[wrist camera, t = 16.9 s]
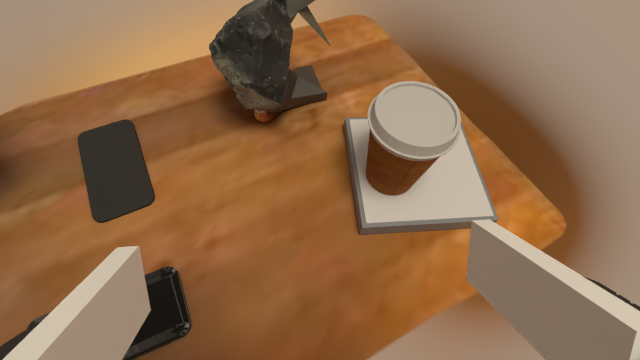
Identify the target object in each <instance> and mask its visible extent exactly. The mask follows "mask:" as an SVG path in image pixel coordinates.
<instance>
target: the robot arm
mask: <svg viewBox="0 0 640 360" xmlns="http://www.w3.org/2000/svg"><path fill="white" fill-rule="evenodd" d="M466 280H467V281H468V282H469V283H470V284H471V285H472V286H473V287H474V288H475V289H476V290H477V291H478V292H479V293H480V294H481V295H482V296H483V297H484V298H485V299H486V300H487V301H488V302H489V303H490V304H491V305H492V306H493V307H494V308H495V309H496V310H497V311H498V312H499V313H500V314H501V315H502V316H503V317H504V318H505V319H506V320H507V321H508V322H509V323H510V324H511V325H512V326H513V327H514V328H515V329H516V330H517V331H518V332H519V333H520V334H521V335H522V336H523V337H524V338H525V339H526V340H527V341H528V342H529V343H530V344H531V345H532V346H533V347H534V348H535V349H536V350H537V351H538V352H539V353H540V354H541V355H542V356H543V357H544V358H545V359H546V360H640V307H639V306H637V305H636V304H631V303H630V301H629V300H627V299H626V298H624V297H622V296H620V295H617V294H616V292H614V291H612V290H611V289H609V288H607V287H606V286H604V285H602V284H600V283H599V282H596V281H594V280H591V279H589V278H586V277H584V276H581V275H580V274H578V273H576V272H575V271H573V270H571V269H570V268H568V267H567V266H565V265H563V264H561V263H560V262H558V261H557V260H555V259H553V258H552V257H550V256H548V255H547V254H545V253H544V252H542V251H540V250H539V249H537V248H535V247H534V246H532V245H530V244H529V243H527V242H526V241H524V240H522V239H521V238H519V237H517V236H516V235H514V234H512V233H511V232H509V231H508V230H506V229H504V228H503V227H501V226H499V225H498V224H496V223H494V222H493V221H491V220H490V219H486V220H473V221H472V224H471V234H470V244H469V255H468V265H467V275H466ZM150 311H151V308H150V303H149V297H148V292H147V287H146V281H145V276H144V271H143V265H142V260H141V255H140V249H139V246H132V247H119V248H116V249H115V250H114V251H113V252H112V253H111V254H110V255H109V256H108V257H107V258H106V259H105V260H104V261H103V262H102V263H101V264H100V265H99V266H98V267H97V268H96V269H95V270H94V271H93V272H92V273H91V274H90V275H89V276H88V277H87V278H85V279H84V280H83V281H82V282H81V283H80V284H79V285H78V286H77V287H76V288H75V289H74V290H73V291H72V292H71V293H70V294H69V295H68V296H67V297H66V298H65V299H64V300H63V301H62V302H61V303H60V304H59V305H58V306H57V307H56V308H55V309H54V310H53V311H52V312H51V313H50V314H49V315H48V316H47V317H46V318H45V319H44V320H42V321H41V322H40V323H39V324H38V325H37V326H36V327H35V328H34V329H33V330H26V331H24V332H22V333H21V334H19V335H17V336H16V337H14V338H13V339H11V340H10V341H8V342H6V343H5V344H3V345H2V346H1V347H0V360H122V359H123V357H124V355H125V354H126V352H127V350H128V349H129V347H130V345H131V343H132V342H133V340H134V338H135V336H136V335H137V333H138V331H139V330H140V328H141V326H142V324H143V323H144V321H145V319H146V317H147V316H148V314H149V312H150Z"/></svg>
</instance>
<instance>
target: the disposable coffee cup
mask: <svg viewBox="0 0 640 360" xmlns="http://www.w3.org/2000/svg"><path fill="white" fill-rule="evenodd" d="M368 124H369V128H370V133H369V143H368V153H367V164H366V177H367V180H368V182H369V184H370V185H371V186H372V187H373V188H374V189H375V190H377V191H378V192H380V193H382V194H385V195H390V196H396V195H401V194H403V193H405V192H407V191H408V190H409V189H410V188H411V187H412V186H413V185H414V184H415V183H416V181H417V180H418V179H419V178H420V177H421V176H422V175H423V174H424V173H425V172H426V171H427V170H428V169H429V168H430V167H431V166H432V165H433V163H434V162H435V161H436V160H437V159H438V158H439V157H440V156H442V155H444V154H446V153H448V152H449V151H450V150H451V149H452V148H453V147H454V146H455V145H456V144H457V142H458V140H459V137H460V132H461V127H460V125H461V116H460V112H459V109H458V107H457V106H456V104H455V102H454V101H453V100H452V99H451V98H450V97H449V96H448V95H447V94H446V93H445V92H443V91H441V90H440V89H438V88H436V87H434V86H432V85H429V84H426V83H423V82H415V81H404V82H398V83H395V84H392V85H389V86H388V87H386V88H385V89H383V90H382V92H381V93H380V94H379V95H378V96H376V97H375V99H374V100H373V101H372V102H371V105H370V107H369V110H368Z"/></svg>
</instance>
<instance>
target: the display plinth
mask: <svg viewBox="0 0 640 360" xmlns="http://www.w3.org/2000/svg"><path fill="white" fill-rule="evenodd" d="M460 127H461V132H460V137H459V140H458V142H457V144H456V145H455V146H454V147H453V148H452V149H451V150H450V151H449V152H448V153H446V154H444V155H442V156H440V157H439V158H438V159H437V160H436V161H435V162H434V163H433V165H432V166H431V167H430V168H429V169H428V170H427V171H426V172H425V173H424V174H423V175H422V176H421V177H420V178H419V179H418V180H417V181H416V183H415V184H414V185H413V186H412V187H411V188H410V189H409V190H408V191H407V192H405V193H403V194H401V195H396V196H390V195H385V194H382V193H380V192H378V191H377V190H375V189H374V188H373V187H372V186H371V185H370V184H369V182H368V180H367V177H366V164H367V153H368V143H369V133H370V128H369V124H368V117H357V118H345V123H344V134H345V141H346V148H347V154H348V161H349V168H350V174H351V181H352V188H353V194H354V201H355V208H356V214H357V221H358V228H359V234H360V235H367V234H383V233H400V232H417V231H433V230H450V229H467V228H471V224H472V221H473V220H486V219H490V220H491V221H493V222H494V223H495V222H496V221H498V218H497V215H496V212H495V210H494V207H493V204H492V202H491V199H490V197H489V194H488V191H487V189H486V186H485V183H484V181H483V178H482V175H481V173H480V170H479V168H478V165H477V162H476V160H475V157H474V154H473V152H472V149H471V146H470V144H469V141H468V139H467V136H466V133H465V131H464V128H463V125H462V123H461V125H460Z"/></svg>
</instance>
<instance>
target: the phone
mask: <svg viewBox="0 0 640 360" xmlns="http://www.w3.org/2000/svg"><path fill="white" fill-rule="evenodd" d="M78 145H79V150H80V155H81V161H82V166H83V171H84V176H85V181H86V186H87V191H88V197H89V202H90V207H91V212H92V216H93V219H94V220H95V221H97V222H99V223H104V222H107V221H110V220H113V219H115V218H118V217H121V216H123V215H126V214H129V213H131V212H134V211H137V210H139V209H142V208H144V207H147V206H149V205H151V204H152V203H153V202H154V199H155V195H154V191H153V188H152V184H151V181H150V177H149V174H148V171H147V167H146V164H145V161H144V157H143V154H142V150H141V146H140V143H139V139H138V137H137V133H136V130H135V127H134V125H133V123H132V122H131V121H130V120H121V121H118V122H115V123H111V124H108V125H105V126H101V127H98V128H95V129H92V130H88V131H85V132H83V133H81V134H80V135H79V137H78Z"/></svg>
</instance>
